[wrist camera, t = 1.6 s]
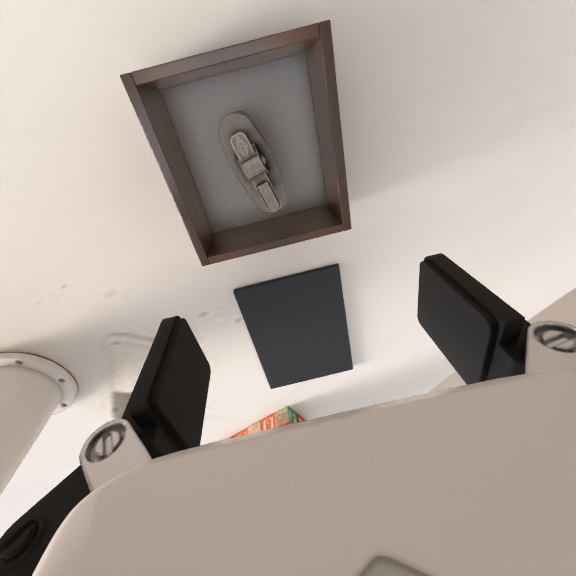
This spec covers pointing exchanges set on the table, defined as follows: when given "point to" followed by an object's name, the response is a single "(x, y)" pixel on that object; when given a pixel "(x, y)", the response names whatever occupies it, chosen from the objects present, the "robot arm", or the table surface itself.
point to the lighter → (252, 161)
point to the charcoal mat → (298, 325)
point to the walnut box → (176, 170)
